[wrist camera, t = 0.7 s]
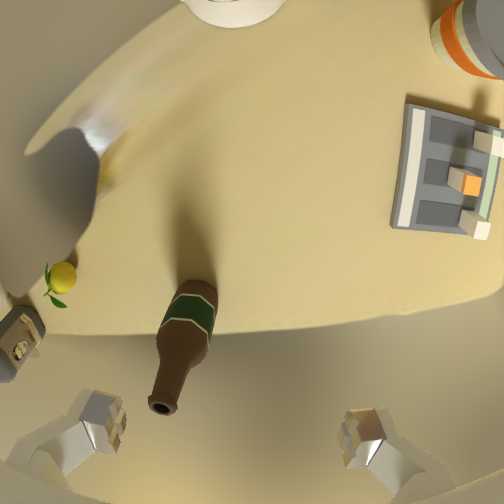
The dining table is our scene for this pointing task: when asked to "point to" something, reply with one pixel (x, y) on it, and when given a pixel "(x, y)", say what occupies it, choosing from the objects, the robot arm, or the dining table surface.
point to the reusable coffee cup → (472, 37)
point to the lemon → (60, 280)
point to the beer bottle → (182, 341)
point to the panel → (440, 171)
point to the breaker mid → (464, 181)
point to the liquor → (18, 340)
